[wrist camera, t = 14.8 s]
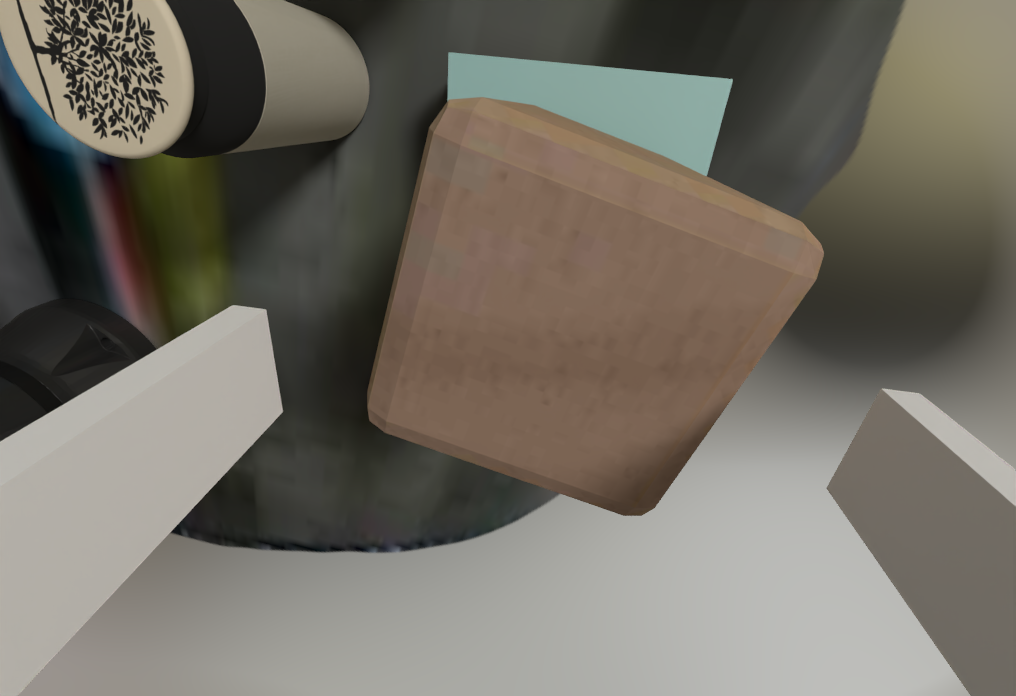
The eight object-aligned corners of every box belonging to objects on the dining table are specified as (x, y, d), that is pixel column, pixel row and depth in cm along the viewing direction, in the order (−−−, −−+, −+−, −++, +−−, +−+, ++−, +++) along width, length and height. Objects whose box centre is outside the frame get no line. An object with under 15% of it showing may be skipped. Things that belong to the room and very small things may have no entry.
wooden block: (605, 305, 32) (649, 538, 15) (470, 255, 32) (348, 434, 14) (675, 160, 28) (863, 247, 10) (519, 99, 27) (428, 78, 10)
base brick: (459, 282, 39) (442, 309, 34) (468, 62, 32) (448, 52, 27) (649, 306, 38) (662, 337, 33) (704, 84, 31) (733, 79, 26)
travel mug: (377, 31, 32) (185, -48, 16) (365, 153, 35) (199, 188, 20) (264, -2, 32) (-44, -115, 16) (264, 123, 35) (14, 135, 19)
